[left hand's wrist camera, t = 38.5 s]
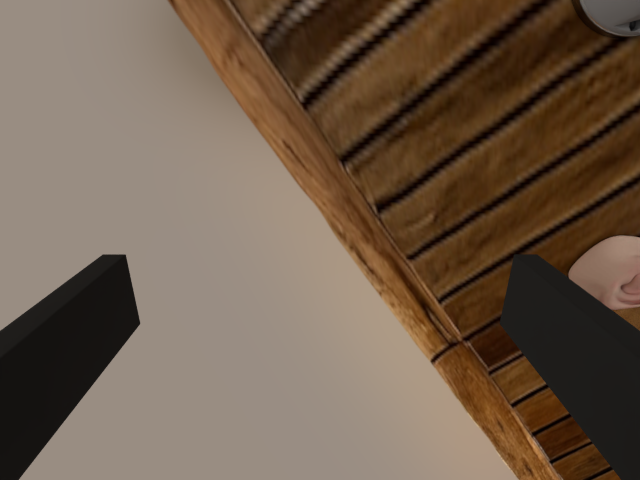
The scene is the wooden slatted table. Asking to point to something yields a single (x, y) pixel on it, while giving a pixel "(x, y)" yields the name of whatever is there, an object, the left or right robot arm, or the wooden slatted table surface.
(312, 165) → the wooden slatted table surface
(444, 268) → the wooden slatted table surface
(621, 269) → the anatomical model
